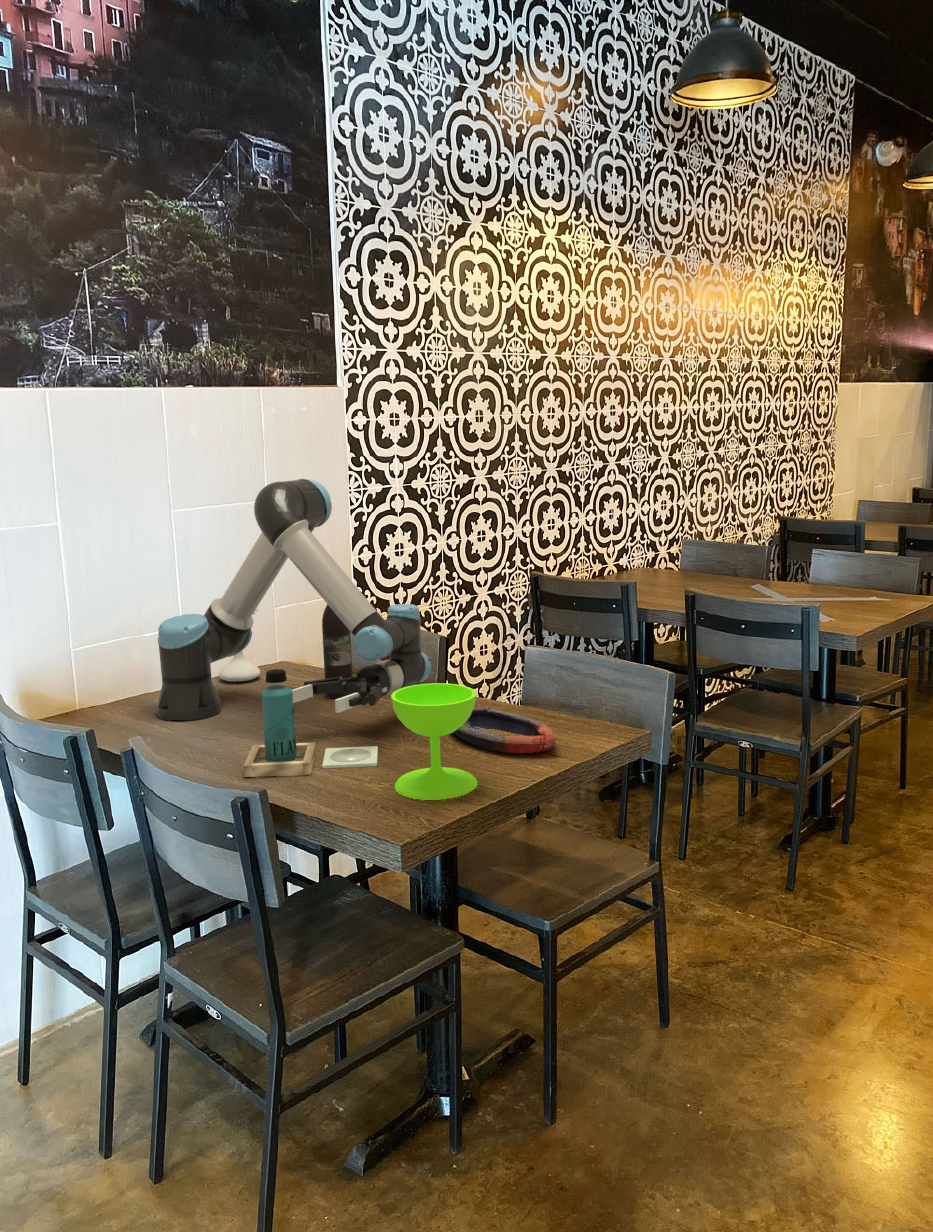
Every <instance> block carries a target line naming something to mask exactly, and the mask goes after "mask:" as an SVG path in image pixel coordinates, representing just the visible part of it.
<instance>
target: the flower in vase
mask: <svg viewBox="0 0 933 1232" xmlns="http://www.w3.org/2000/svg"><path fill="white" fill-rule="evenodd" d="M257 612H259V608H258V607H257V608H256V610H255V611H254V613H253V614H252V615H257ZM261 672H262V671H261V670H260V668H259V667H258V666H257V665H255V664H254V663H253V662H251V661H250V660H248V659H247V658H246V657H245V655H244V652H243V650H242V651H240V652H238V654H236V655H233V657H232V658H231V660H230V661H229V662H228V663H227V664H226V665H224V667H223V668H221V670H220V671H219V673H218V677H219V678H220V679H221V680H223V681H227V682H234V683H237V681H239V682H246V681H252V680H253V679H256V678H257V677H259V676H260V675H261Z"/></svg>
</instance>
